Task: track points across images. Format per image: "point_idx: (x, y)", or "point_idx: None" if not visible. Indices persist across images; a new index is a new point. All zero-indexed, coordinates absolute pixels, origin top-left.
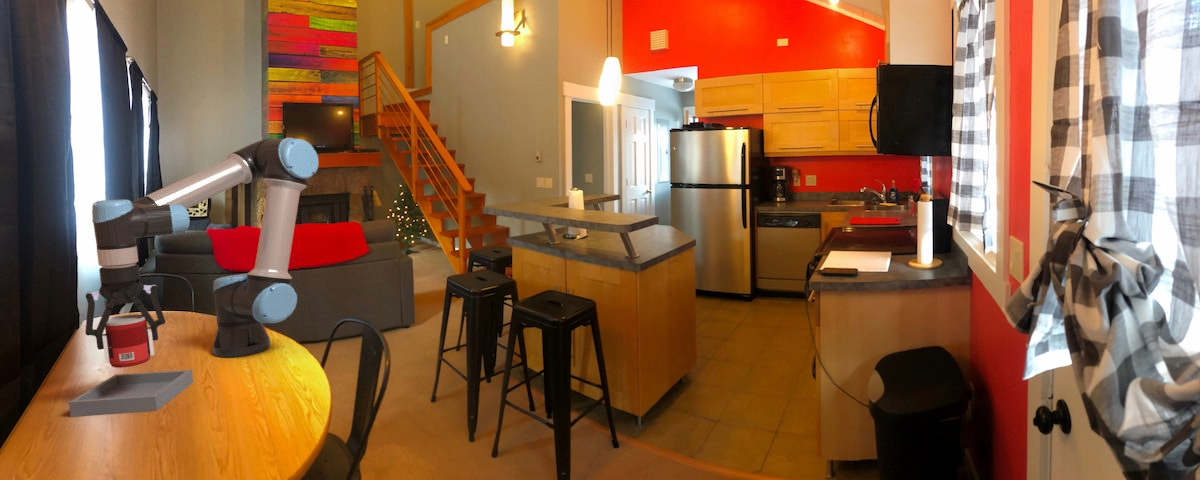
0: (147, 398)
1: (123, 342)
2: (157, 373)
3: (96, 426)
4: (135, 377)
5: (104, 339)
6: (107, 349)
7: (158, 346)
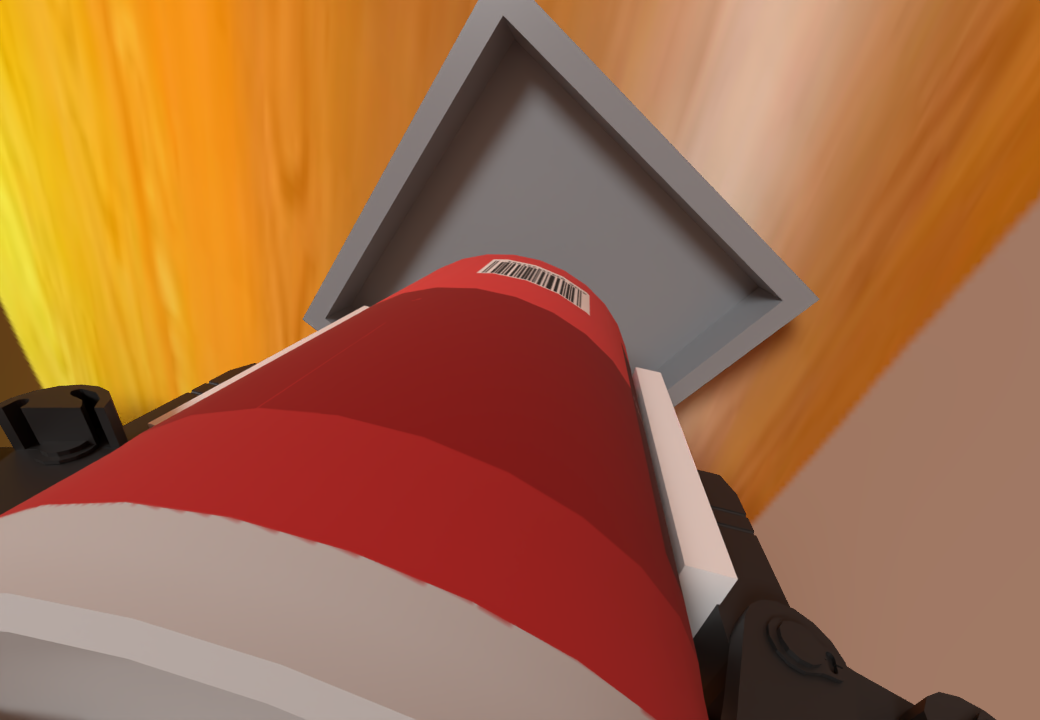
0: (535, 2)
1: (530, 330)
2: None
3: (788, 9)
4: None
5: (700, 530)
6: (657, 431)
7: None
